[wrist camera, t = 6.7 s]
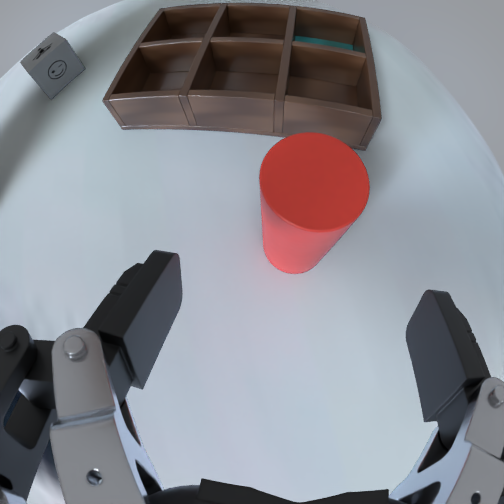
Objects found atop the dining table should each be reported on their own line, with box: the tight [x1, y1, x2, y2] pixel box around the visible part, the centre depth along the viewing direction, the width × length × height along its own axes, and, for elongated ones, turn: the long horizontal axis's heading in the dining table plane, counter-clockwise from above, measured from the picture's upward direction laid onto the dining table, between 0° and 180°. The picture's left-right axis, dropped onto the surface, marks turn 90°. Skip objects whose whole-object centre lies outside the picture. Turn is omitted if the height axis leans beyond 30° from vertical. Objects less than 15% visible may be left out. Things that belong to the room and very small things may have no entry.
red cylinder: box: [259, 132, 370, 274], centre depth 14 cm, size 4×4×9 cm
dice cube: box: [20, 33, 85, 99], centre depth 21 cm, size 5×5×5 cm
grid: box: [102, 3, 382, 151], centre depth 20 cm, size 19×13×4 cm
